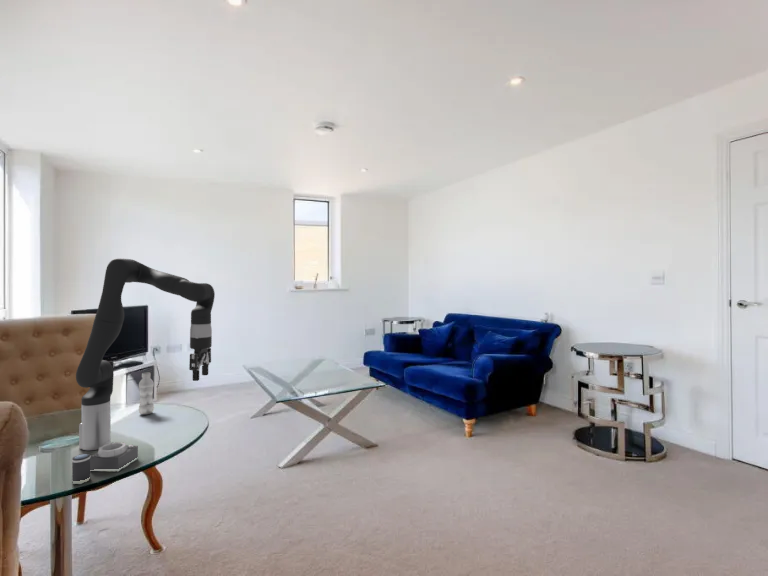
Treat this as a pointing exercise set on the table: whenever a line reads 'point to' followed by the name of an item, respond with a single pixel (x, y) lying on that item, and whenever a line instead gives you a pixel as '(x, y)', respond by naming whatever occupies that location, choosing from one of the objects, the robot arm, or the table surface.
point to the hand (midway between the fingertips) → (200, 377)
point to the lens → (81, 467)
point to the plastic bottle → (146, 394)
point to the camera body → (113, 456)
